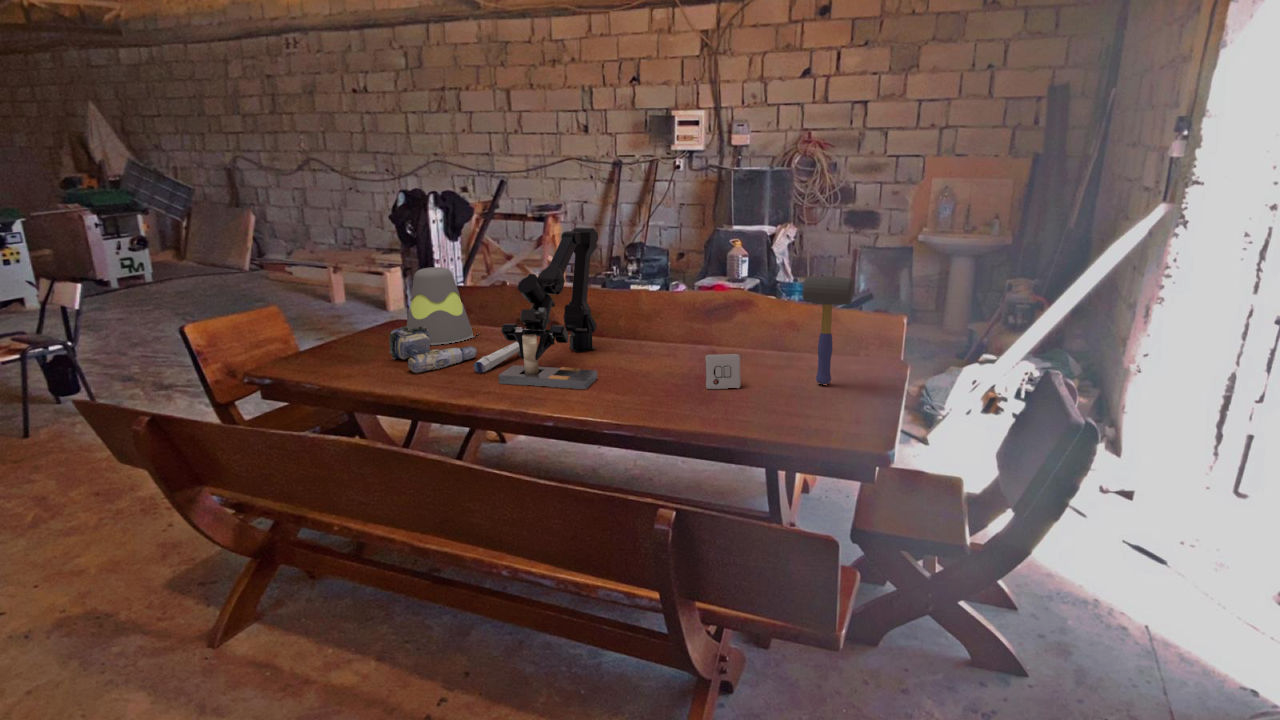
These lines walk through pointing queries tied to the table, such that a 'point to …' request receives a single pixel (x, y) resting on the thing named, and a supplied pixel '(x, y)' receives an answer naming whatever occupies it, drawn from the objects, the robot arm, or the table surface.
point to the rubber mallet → (826, 313)
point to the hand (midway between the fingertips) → (529, 359)
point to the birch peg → (530, 354)
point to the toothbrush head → (496, 358)
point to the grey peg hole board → (549, 377)
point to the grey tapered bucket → (438, 307)
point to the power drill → (424, 350)
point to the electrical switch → (722, 371)
